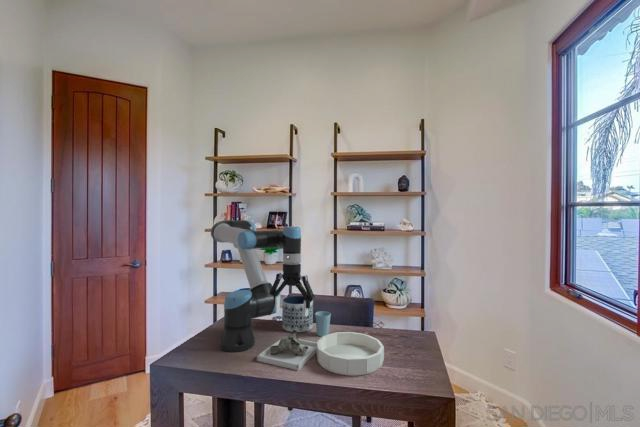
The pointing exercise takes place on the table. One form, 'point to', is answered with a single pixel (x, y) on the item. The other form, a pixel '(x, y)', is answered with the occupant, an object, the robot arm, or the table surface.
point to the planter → (296, 314)
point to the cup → (322, 322)
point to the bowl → (350, 353)
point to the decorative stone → (289, 345)
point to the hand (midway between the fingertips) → (291, 313)
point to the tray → (289, 356)
